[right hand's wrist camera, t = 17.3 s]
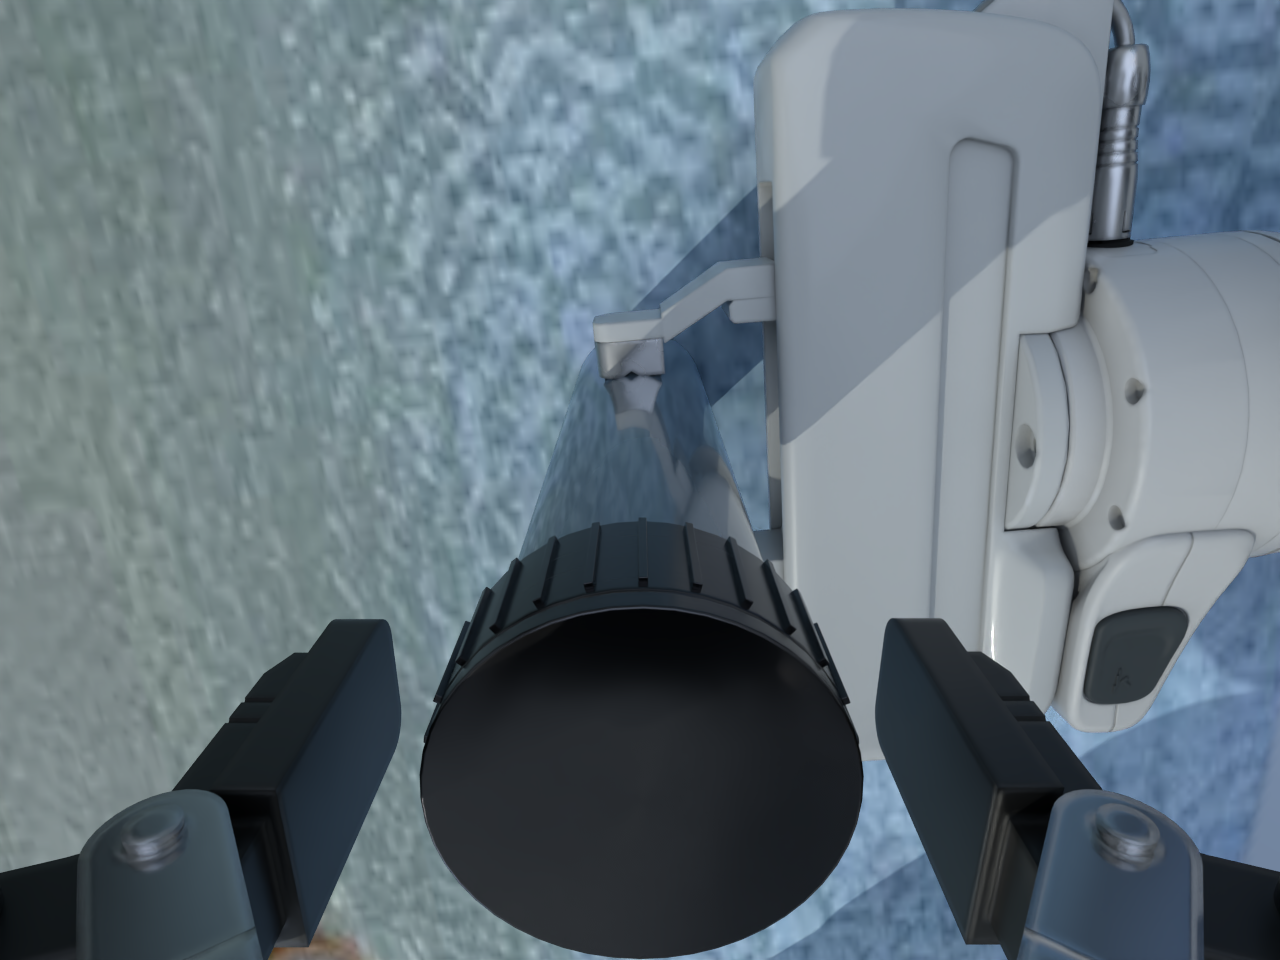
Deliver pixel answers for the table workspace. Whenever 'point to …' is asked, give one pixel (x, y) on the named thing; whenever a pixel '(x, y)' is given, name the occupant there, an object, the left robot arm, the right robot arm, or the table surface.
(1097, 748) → the table surface
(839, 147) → the left robot arm
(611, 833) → the lid
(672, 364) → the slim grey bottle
